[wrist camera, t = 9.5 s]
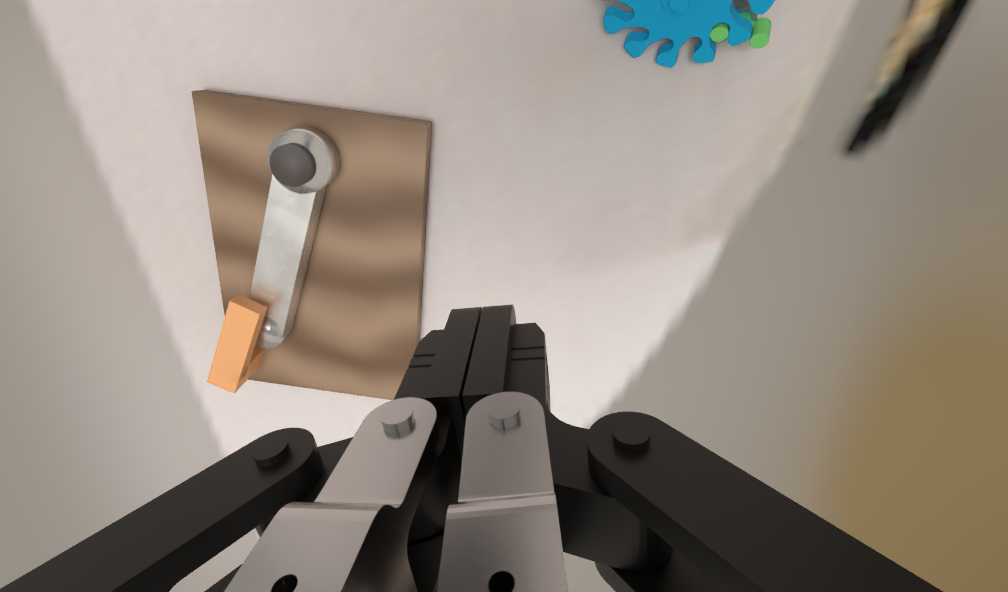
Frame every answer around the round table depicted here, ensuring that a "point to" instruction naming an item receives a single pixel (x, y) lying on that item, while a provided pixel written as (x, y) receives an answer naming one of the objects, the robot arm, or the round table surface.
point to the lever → (290, 235)
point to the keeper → (238, 344)
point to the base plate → (326, 235)
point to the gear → (690, 25)
